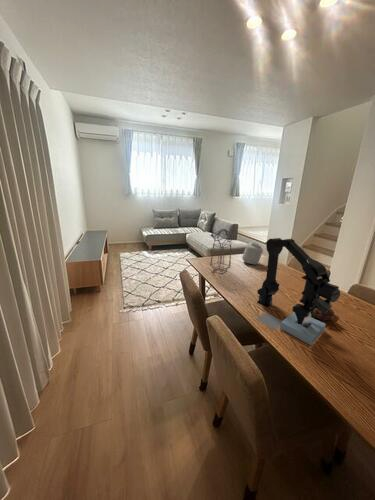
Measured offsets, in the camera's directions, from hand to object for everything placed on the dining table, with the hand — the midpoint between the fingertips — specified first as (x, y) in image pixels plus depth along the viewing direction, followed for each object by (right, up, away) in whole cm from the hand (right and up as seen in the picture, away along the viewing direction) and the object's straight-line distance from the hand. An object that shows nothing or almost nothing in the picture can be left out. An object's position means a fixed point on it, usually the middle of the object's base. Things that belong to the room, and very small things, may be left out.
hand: (304, 320), depth 97 cm
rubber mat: (-13, -3, +8) cm, 15 cm away
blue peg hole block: (0, -5, +2) cm, 6 cm away
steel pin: (0, -5, +2) cm, 6 cm away
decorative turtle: (+15, -3, +11) cm, 19 cm away
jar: (+4, +21, +89) cm, 92 cm away
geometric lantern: (-29, +16, +69) cm, 77 cm away
